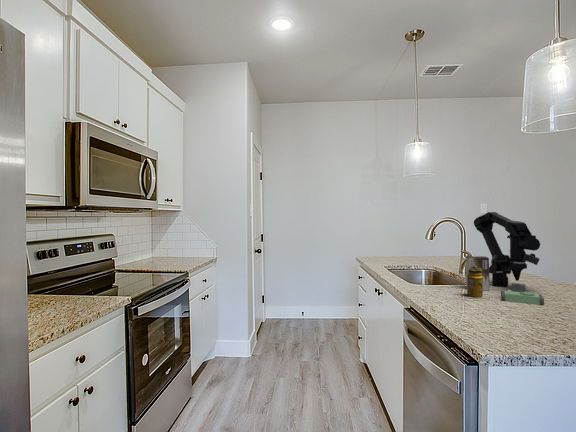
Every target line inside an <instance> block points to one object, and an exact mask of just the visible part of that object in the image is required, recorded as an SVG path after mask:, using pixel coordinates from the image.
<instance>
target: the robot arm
mask: <svg viewBox="0 0 576 432" xmlns="http://www.w3.org/2000/svg"><path fill="white" fill-rule="evenodd" d="M494 224H497V225H499V226H501V227H503V228H504V230H505V231H506V232H507V234H508V233H509V234H508V235H507V236H506V238H507V239H509V254H504V253H503V251H502V249H501V248H500V245H499V243H498V241H497V239H496V237H495V234H494V232H493V228H494ZM473 226H474V227H475V228H476V231H478V232H480V233H481V234H482V236H483V239H484V241H485V244H486V245H487V248H488V250H489V253H490V254H491V260H490V263H491V264H490V265H489V274H492V275H491V276H492V278H491V280H492V281H491V286H492V287H493V286H494V287H502V288H503V287H504V288H508V286H509V275H510V274H511V273H512V275H513V277H514V279H515V281H517V282H519V281H520V277H521V272H522V271H523V270H524V269H525V270H527V269H528V264H527V263H526V262H528V263H530V264H533V265H535V266H538V264H539V262H540V260H541V259H540V258H539V257H537V256H536V254H534V253H530V254H528V253H527V252H526V251H525V250H527V251H537V250H539V249H540V247H541V242H540V239H538V238H537V235H533V233H532V232H531V230H530V229H529V227H528V226H527V224H526V222H523V221H518V220H512V219H510V218H508V217H506V216H504V215H501V214H499V213H498V212H497V211H489V212H486V213H485V214H483V215H479V216H478V217H476V218H474V220H473Z"/></svg>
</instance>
